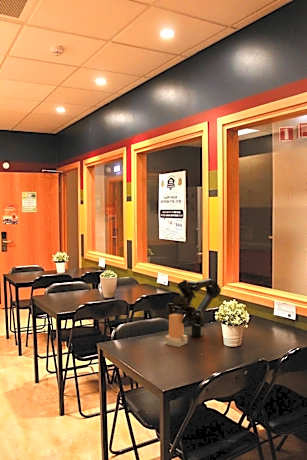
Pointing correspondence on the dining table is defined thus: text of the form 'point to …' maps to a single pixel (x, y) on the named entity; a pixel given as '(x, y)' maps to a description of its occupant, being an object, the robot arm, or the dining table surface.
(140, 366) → the dining table surface
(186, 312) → the robot arm
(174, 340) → the tower top slab
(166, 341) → the tower base slab
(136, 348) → the dining table surface
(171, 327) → the orange pillar block
